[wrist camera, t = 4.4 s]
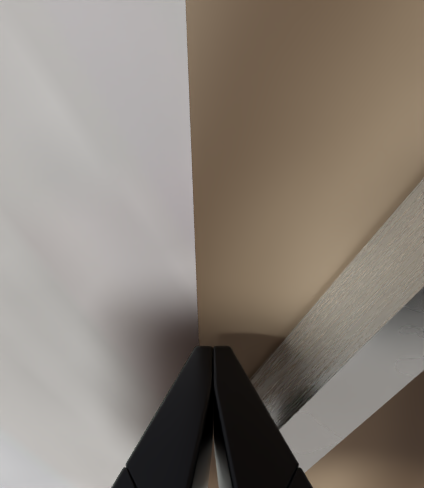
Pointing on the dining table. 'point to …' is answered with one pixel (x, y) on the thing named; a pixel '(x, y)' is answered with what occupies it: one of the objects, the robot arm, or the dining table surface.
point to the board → (303, 183)
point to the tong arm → (352, 341)
